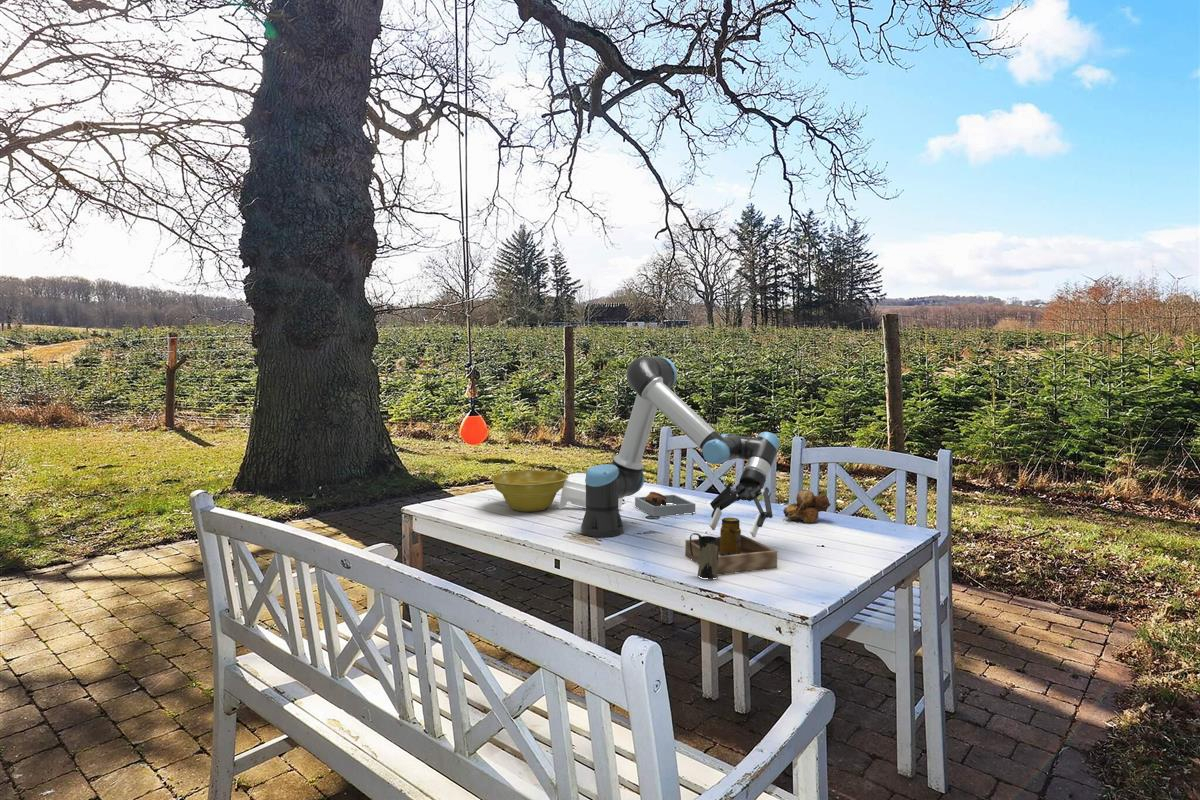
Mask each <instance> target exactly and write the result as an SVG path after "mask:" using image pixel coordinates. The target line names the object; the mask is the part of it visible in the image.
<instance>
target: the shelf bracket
mask: <svg viewBox="0 0 1200 800" xmlns="http://www.w3.org/2000/svg"><path fill="white" fill-rule="evenodd" d="M560 494H561V495H560V501H559V506H558V510H561V509H563V508H565V507H566V506H567V503H569V502H570V503H571V504H572V505H574V506H579V507H583V508H586V483H584V482H580V481H575V480H570V479H566V480H565V482H564V485H563V488H562V489H561V493H560ZM623 501H624V497H622V498H619V499H618V509H621V508H622V506H623Z"/></svg>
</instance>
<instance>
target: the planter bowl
mask: <svg viewBox="0 0 1200 800" xmlns="http://www.w3.org/2000/svg"><path fill="white" fill-rule="evenodd" d="M568 478H569V475H568V474H566V473H564V472H561V471H560V472H559V471H556V470H555V471H554V470H543V469H541V470H540V469H539V470H538V469H536V470H535V469H533V470H531V469H528V470H517V471H516V470H515V471H514V470H513V471H507V472H501V473H497V474H495V475H492V476H490V478H489V480H490V481H491V482H492V483H493V486H494V488H495V489H496V491H497V492H499V493H500V494H502V496H503V499H504V500H505V502H506V504H507V505H508V506H509V507H510V508H512V509H513V510H514V511H518V512H524V513H525V512H527V513H528V512H531V513H532V512H539V511H543V510H546V509H547V508H548V507H550V506H551V505H552V504H553V501H554V500H555V498H556V495H557V494H558V492H559V491H560V490H562V488H563V485H564V482H565V480H568Z"/></svg>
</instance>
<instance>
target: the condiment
mask: <svg viewBox="0 0 1200 800" xmlns="http://www.w3.org/2000/svg"><path fill="white" fill-rule="evenodd" d="M740 526H741V525H740V519H739V518H736V517H728V516H727V517H723V518H722V519H721V527H720V530H719V531H720V532H719V534H720V536H719V537H720V556H725V555H734V554H741V553H740V552H741V535H742V534H741V533H742V530H741V528H740Z"/></svg>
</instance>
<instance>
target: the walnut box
mask: <svg viewBox="0 0 1200 800" xmlns="http://www.w3.org/2000/svg"><path fill="white" fill-rule="evenodd" d="M714 537H715V536H714ZM715 538H717V545H718V574H722V575H726V574H725V573H731V574H736V573H735V572H739V573H746V572H745V571H748V572H753V571H752V570H756V571H762V570H763V569H765V570H770V569H772V570H773V569H777V568H778V550H775V549H774V548H771V547H769V546H767V545H765V544H763V543H760V542H759V541H757V540H755V539H753V538H750V537H748V536H745V534H744V535H743V534H741V552H740V553H741V554H734V555H725V556H720V536H716V537H715ZM684 541H685V543H684V544H685V549H684V553H685V556H684V557H686V556H687V557H686V558H688V559H689V558H690V559H689V560H691V559H692V560H693V561H692V560H691V561H692V562H694V561H695V562H694V563H696V562H697V563H698V565H699V538H695V539H694V538H693V539H691V541H692V553H693V556H694V557H698V558H693V557H692V555H691V550H690V539H685V540H684ZM697 563H696V564H697Z"/></svg>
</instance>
